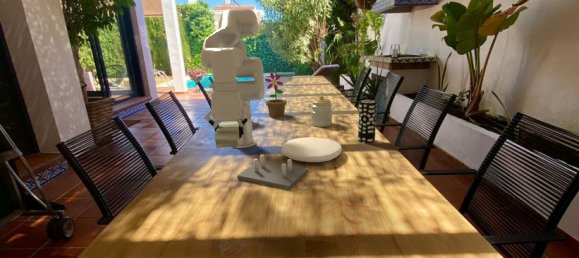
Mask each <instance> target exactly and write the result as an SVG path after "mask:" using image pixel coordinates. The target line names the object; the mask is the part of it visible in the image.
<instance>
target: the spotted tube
mask: <svg viewBox="0 0 579 258" xmlns="http://www.w3.org/2000/svg"><path fill="white" fill-rule="evenodd" d="M377 108H378V100H377V101H376V100H373V99H363V100H359V102H358V122H357V123H358V127H357V142H359V143H361V144H374V143H375V142H376V127H377V125H376V124H377V110H378V109H377Z"/></svg>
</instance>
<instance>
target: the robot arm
mask: <svg viewBox="0 0 579 258" xmlns="http://www.w3.org/2000/svg"><path fill="white" fill-rule="evenodd" d="M258 32H259V22H258V18H257V15H256V13H255V12H254V10H252V9H250V8H239V9H238V8H236V9H235V8H233V9H232V8H231V9H226V10H224V11H223V12H222V13H221V14H220V18H219V21H218V29H217V30H216V31H214V32H213V33H211V34H210V35H208V36H207V37H206V38H205V40H204V41H203V43H202V48H201V53H200V54H201V55H200V62H201V65H202V67H203V69H205V70H208V71H211V73H212V79H213V80H212V81H213V82H212V83H209V84H208V86H209V88H210V89H213V91H212V92H211V101H210V104H211V107H210V108H211V110H209V111H208V112H207V113H206V114H205V115H204V117H203V118H204V119H205V120H206V122H208V124H210V125H211V126H212V127H213V128H214V133H215V132H216V130H217V129H218V127H219V125H220V122H222V121H237V122H238V124H239V138H240V141H239V144H238V147H233V148H235V149H247V148H251V147H253V146H255V145H256V144H257V141H256V139H254V138H253V124H252V121H253V120H252V111H251V106H250V107H249V106H248V105H247V104H246V102H245V101H250V102H251V101H262V100H263V99H264V97H265V77H264V76H265V73H264V65H263V60H262V59H261V58H260V57H257V56H247V46H246V44H245V43H244V42H243V40H242V39H241V38H247V37H248V38H249V37H250V38H251V37H256V36H257V35H258ZM246 78H247V79H249V78H252V79H253V80H237V79H246Z"/></svg>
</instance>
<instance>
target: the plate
mask: <svg viewBox="0 0 579 258" xmlns="http://www.w3.org/2000/svg"><path fill="white" fill-rule="evenodd" d="M342 151H343V148H342V145H341V144H340V143H339V142H337V141H335V140H332V139H328V138H324V137H318V136H317V137H310V136H309V137H299V138H294V139H290V140H288V141H286V142H285V143H283V144H282V146H281V153H282V155H283V156H285V157H286V158H289V159H291V160H295V161H298V162H304V163H322V162H329V161H331V160H333V159H335V158H337V157H338V156H340V154H342Z"/></svg>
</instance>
